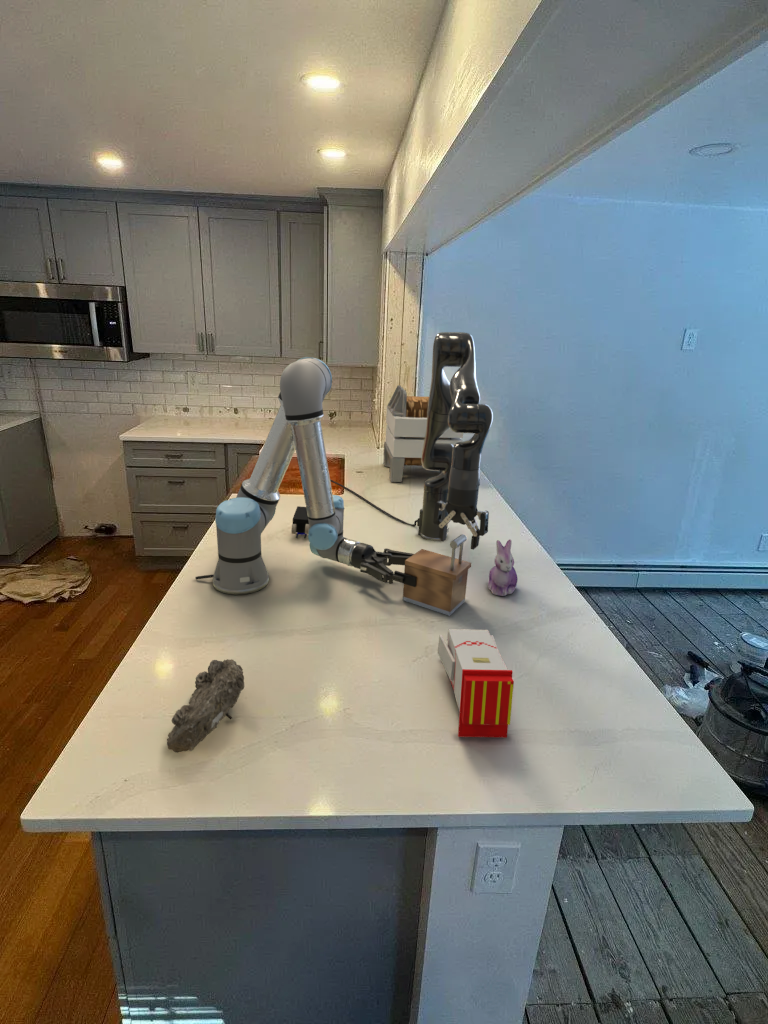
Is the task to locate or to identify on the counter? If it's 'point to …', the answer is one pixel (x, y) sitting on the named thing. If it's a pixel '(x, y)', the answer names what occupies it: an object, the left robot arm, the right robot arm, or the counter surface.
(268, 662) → the counter surface
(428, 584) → the chest
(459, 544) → the lid
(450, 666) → the toy
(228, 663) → the fossil
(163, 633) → the counter surface
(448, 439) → the transformer
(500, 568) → the figurine
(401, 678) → the counter surface
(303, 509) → the figurine character
